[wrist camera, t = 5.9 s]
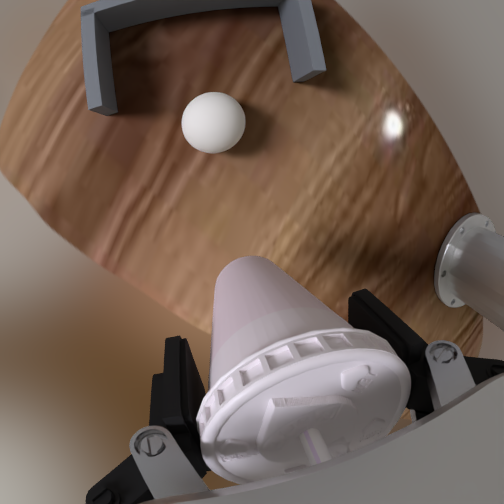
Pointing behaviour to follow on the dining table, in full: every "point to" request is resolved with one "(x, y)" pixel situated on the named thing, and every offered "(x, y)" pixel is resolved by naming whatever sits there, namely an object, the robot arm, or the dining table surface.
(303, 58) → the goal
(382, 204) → the dining table surface
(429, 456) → the robot arm
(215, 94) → the ball
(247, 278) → the smoothie
